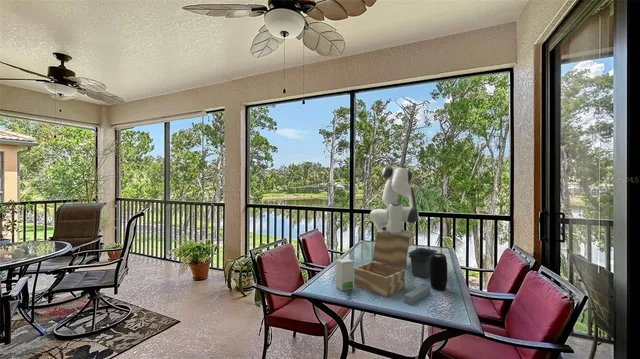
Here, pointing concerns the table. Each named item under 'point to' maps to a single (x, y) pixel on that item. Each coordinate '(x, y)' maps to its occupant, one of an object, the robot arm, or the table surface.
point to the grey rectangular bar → (417, 294)
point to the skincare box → (344, 274)
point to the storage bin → (421, 261)
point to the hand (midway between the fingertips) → (395, 251)
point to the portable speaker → (438, 271)
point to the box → (379, 278)
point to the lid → (391, 249)
